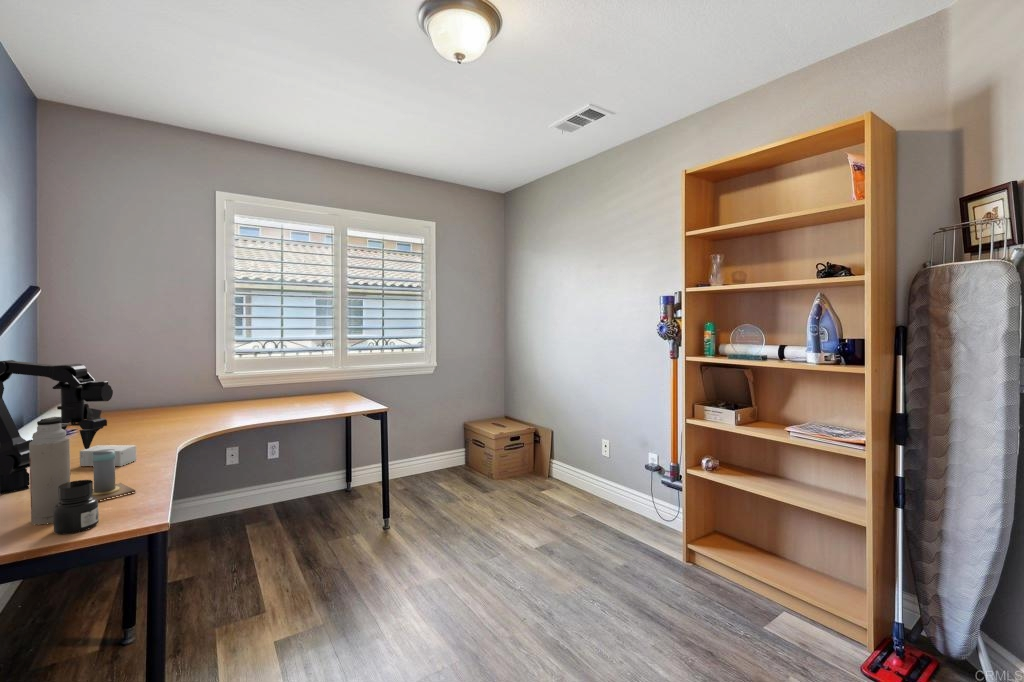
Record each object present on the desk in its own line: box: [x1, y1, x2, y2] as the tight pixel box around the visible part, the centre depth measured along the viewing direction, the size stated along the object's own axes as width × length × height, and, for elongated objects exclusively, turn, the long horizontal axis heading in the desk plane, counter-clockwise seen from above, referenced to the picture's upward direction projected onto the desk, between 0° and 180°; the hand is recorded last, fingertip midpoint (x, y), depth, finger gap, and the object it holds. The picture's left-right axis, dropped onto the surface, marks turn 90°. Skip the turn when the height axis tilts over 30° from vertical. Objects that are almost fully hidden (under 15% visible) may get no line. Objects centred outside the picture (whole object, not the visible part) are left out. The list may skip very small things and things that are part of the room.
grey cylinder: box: [92, 449, 116, 493], centre depth 150 cm, size 5×5×12 cm
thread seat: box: [92, 482, 136, 501], centre depth 150 cm, size 12×12×2 cm
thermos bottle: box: [29, 419, 71, 525], centre depth 131 cm, size 8×8×28 cm
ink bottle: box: [53, 479, 100, 535], centre depth 126 cm, size 10×9×12 cm
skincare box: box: [79, 444, 138, 467], centre depth 182 cm, size 8×7×16 cm
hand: (73, 448), depth 156 cm, fingers open, 9 cm apart
